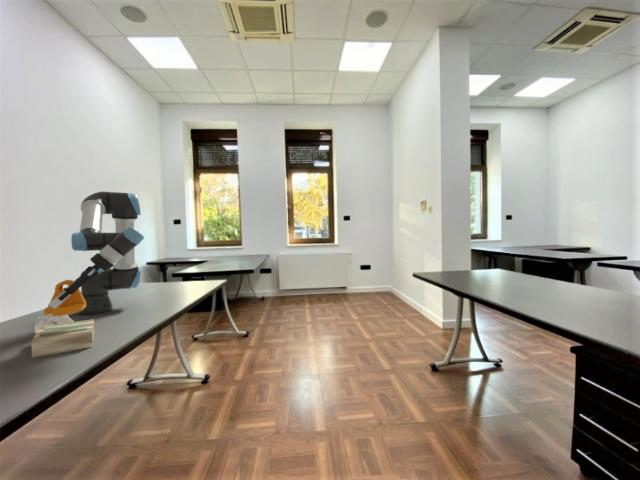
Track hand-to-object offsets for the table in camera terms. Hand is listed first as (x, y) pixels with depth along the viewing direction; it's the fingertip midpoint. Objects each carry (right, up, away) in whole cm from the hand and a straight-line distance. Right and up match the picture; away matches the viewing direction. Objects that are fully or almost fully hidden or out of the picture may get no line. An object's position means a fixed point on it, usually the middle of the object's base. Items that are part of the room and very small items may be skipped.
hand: (53, 304), depth 107 cm
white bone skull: (-14, -16, +15) cm, 26 cm away
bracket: (+3, -4, +2) cm, 5 cm away
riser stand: (+3, -16, +3) cm, 16 cm away
